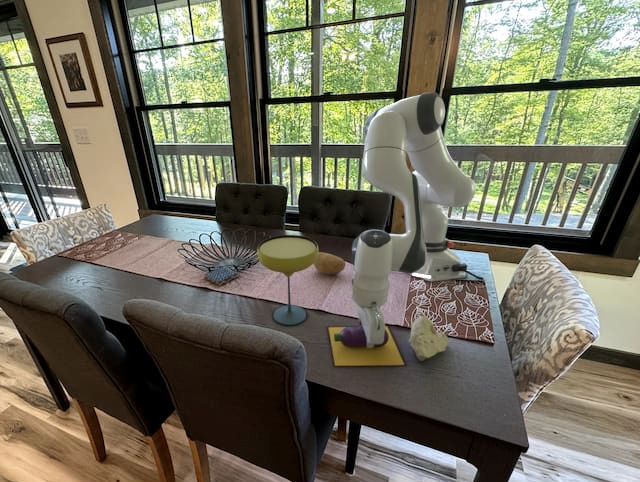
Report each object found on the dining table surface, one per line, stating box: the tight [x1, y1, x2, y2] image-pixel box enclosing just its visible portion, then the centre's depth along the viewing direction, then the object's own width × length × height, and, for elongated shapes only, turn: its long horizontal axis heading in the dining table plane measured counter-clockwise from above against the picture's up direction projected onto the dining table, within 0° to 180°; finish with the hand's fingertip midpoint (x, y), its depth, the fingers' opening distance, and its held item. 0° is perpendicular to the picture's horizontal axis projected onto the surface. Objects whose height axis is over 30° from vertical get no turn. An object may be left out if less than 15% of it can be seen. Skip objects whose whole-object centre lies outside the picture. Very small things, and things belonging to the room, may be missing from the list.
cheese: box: [408, 314, 450, 362], centre depth 84 cm, size 15×7×15 cm
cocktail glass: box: [256, 234, 319, 326], centre depth 97 cm, size 18×18×25 cm
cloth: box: [328, 326, 405, 367], centre depth 89 cm, size 18×16×1 cm
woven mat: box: [204, 266, 240, 286], centre depth 128 cm, size 10×11×2 cm
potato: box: [313, 251, 347, 275], centre depth 126 cm, size 10×14×8 cm
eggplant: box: [334, 326, 389, 347], centre depth 88 cm, size 15×6×6 cm, turn 88°
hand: (365, 334), depth 87 cm, fingers open, 8 cm apart
